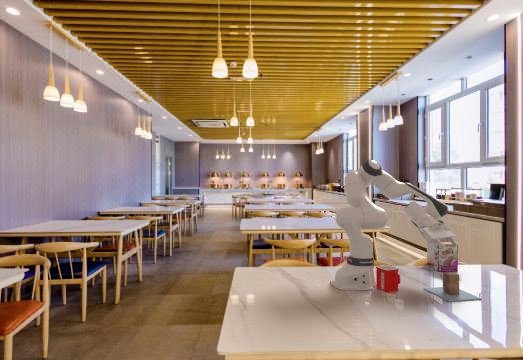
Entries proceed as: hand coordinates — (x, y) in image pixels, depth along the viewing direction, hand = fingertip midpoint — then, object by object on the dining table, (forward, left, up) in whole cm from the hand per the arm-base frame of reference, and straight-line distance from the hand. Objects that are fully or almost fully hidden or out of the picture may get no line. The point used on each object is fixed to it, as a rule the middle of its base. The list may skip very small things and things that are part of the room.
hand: (450, 247), depth 150 cm
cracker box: (+25, +40, -21) cm, 51 cm away
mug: (-30, +3, -21) cm, 37 cm away
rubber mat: (-5, -6, -20) cm, 22 cm away
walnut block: (-5, -6, -20) cm, 21 cm away
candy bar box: (+21, +28, -21) cm, 40 cm away
